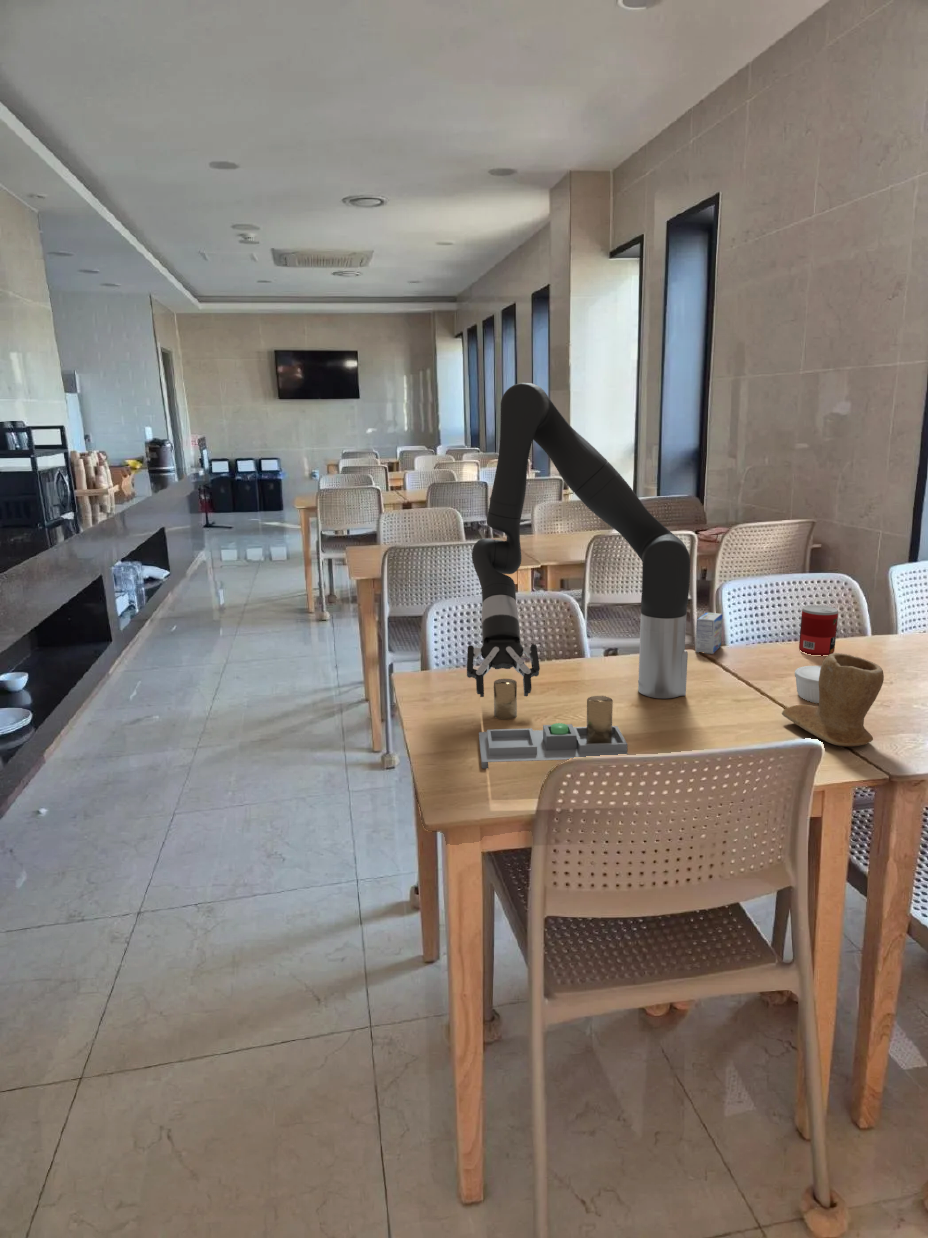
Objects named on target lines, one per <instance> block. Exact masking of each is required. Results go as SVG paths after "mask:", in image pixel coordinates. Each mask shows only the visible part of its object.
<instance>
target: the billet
mask: <svg viewBox="0 0 928 1238" xmlns="http://www.w3.org/2000/svg"><path fill="white" fill-rule="evenodd" d="M517 684H518V683H517V681H516V680H515V679H512V678H499V679H496V680H494V681H493V717H494V718H495V719H498V720H503V721H509V720H512V719H513V720H514V719H516V718H517V716H518V715H517V714H518V710H517V709H518V708H517V707H518V700H517V699H518V696H517V695H518V693H517V692H518V691H517V687H518V685H517Z"/></svg>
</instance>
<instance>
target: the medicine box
mask: <svg viewBox="0 0 928 1238" xmlns="http://www.w3.org/2000/svg"><path fill="white" fill-rule="evenodd" d="M695 623H696V625H695V627H696V628H695V649H694V650H696V651H695V653H699V652H704V653H703V654H706V655H707V654H709V655H713V654H715V653H716V651H718V649H720V647H722V631H723V630H722V629H723V613H720V612H719V613H718V612H717V613H715V612H704V614H702V615H701V616H700V617H698V618H697V619H696V622H695Z"/></svg>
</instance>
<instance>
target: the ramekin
mask: <svg viewBox="0 0 928 1238" xmlns="http://www.w3.org/2000/svg"><path fill="white" fill-rule="evenodd" d="M821 666H822V665H805V666H804V665H803V666H800V667H798V668H796V669H795V671H794V678H795V684H796V685H795V686H796V692H797V694H798V696H799V697H800V698H801V699H802V698H803V700H804V699H805V701H806V700H807V702H809V701H810V703H813V702H814V703H813V704H817V703H819V675H820V669H821Z"/></svg>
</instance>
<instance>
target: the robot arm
mask: <svg viewBox="0 0 928 1238" xmlns="http://www.w3.org/2000/svg"><path fill="white" fill-rule="evenodd" d="M499 424H500V427H499V428H500V429H499V431H500V432H499V448H498V455H497V463H496V468H495V474H494V479H493V483H492V484H493V486H492V490H491V495H490V500H489V506H488V512H487V516H486V518H487V519H486V523H487V525H488V527H490V528H491V529H493V530H495V531H499V532H502V533H503V534H505V536H506V540H500V539H491V538H481V539H479V540H477V541H476V542H475V544H474V545H473V547H472V551H471V560H472V564H473V568H474V570H475V572H476V575H477V578H478V580H479V583H480V588H481V603H482V605H481V607H482V608H481V633H482V635H481V636H482V646H481V647H474V645H472V644H470V645H468V646H467V656H466V677H467V678H469V679H471V678H473V679H475V684H476V685H475V687H476V689H475V691H476V694H477V695H479V696H480V698H484V697H485V682H484V677H485V676H486V674H488V673H489V671H490V670H492V668H493V669H494V670H500V669H505V670H510V669H512V668H513V670H515V671H516V673H519V674H520V675H521V676H522V677H523V679H522V683H523V686H522V687H523V696H524V697H528V696H529V694H531V692H532V689H533V686H532V678H533V677H538V676H539V674H540V670H541V666H540V660H539V654H538V648H537V647H538V646H537V645H536V644H534V643H533V644H531V645H530V646H522V643H521V636H520V635H521V634H520V618H519V609H518V605H517V593H516V592H517V591H516V584H515V581H514V579H513V578H512V577H511V576H509V575H513V574H514V573H516V572H517V571H518V569H520V566H521V565H522V549H521V537H520V535H521V534H520V530H521V520H522V519H521V518H522V514H523V511H524V504H525V499H526V492H527V491H526V489H527V477H528V466H529V465H528V464H529V457H530V452H531V448H532V444H533V441H534V442H535V443H536V444H537V445H538V446H539V447H540V448H541V449H543V451H544V452H545V453H546V454H547V456H548V458H549V459H550V460H551V461H552V464H553V465H554V466H555V469H556V470H557V472H558V474H559V475H560V476H561V478H562V479H563V481H564V482H565V483H566V485H567V486H568V488H569V489H570V490H571V492H573V493H574V495H575V496H576V497H577V498H578V499H579V501H581V502H582V504H584V506H585V507H586V508H588V509H589V510H590V511H591V512H592V513H593V514H594V515H596V516H597V517H598V518H599V519H601V520H602V521H603V522H604V523H606V524H608V526H610V527H611V528H612V529H614V531H616V532H617V533H618V534H620V535H621V536H622V537H623V539H624V540H625V541H626V542H627V543H628V545H630V547H631V548H632V549H633V551H634V553H635V554H636V555H637V556H638V557H639V559H640V560H641V563H642V575H641V577H642V578H641V579H642V580H641V596H640V597H641V599H640V624H639V626H640V628H639V629H640V630H639V652H638V653H639V654H638V655H639V656H638V680H637V683H638V684H637V685H638V686H637V687H638V689H637V690H638V691H637V692H639V693H640V694H641V695H643V696H645V697H648V698H654V699H675V698H678V697H681V696H686V695H687V678H688V677H687V675H688V655H689V653H688V650H687V649H686V636H687V635H686V633H687V631H686V630H687V615H688V614H687V613H688V611H687V610H688V602H689V595H690V594H689V593H690V592H689V591H690V577H691V555H690V552H689V549H688V548H687V546H686V544H685V543H684V542H683V541H682V540H681V538H679V537H678V536H677V535H675V534H674V533H673V532H671V530H669V529H668V528H667V527H665V526H664V525H663V524H662V523H661V522H660V521H659V520H658V519H657V518H656V517H655V516H654V515H653V514H652V513H651V512H650V511H649V510H648V508H646V507H645V506H644V504H643V503H642V501H641V500H640V498H639V497H638V496H637V494H636V493H635V491H634V490H633V489H632V487H631V486H630V484H629V483H627V482H628V481H626V480H625V479H624V477H623V476H622V475H621V474H620V472H619V471H618V470H617V469H616V468H615V467H614V466H613V465H612V464H611V463H610V462H609V461H608V460H607V459H606V457H604V456H603V455H602V454H601V453H600V451H598V450H597V449H596V448H595V447H594V446H593V445H592V444H591V443H590V442H589V441H588V440H587V439H585V438H584V437H583V436H582V435H581V434H580V433H579V432H577V431H576V429H574V428H573V427H572V426H571V424H569V422H568V421H567V420H566V419H565V417H564V416H563V415H562V414H561V412H560V411H559V409H558V408H557V407H556V405H555V404H554V402H553V401H552V400H551V398H550V397H549V396H548V394H547V393H546V391H545V390H544V389H543V388H542V387H541V386H539V385H537V384H535V383H531V382H519V383H516V384H513V385H511V386H510V387H508V389H506V391H505V392H504V393H503V395H502V397H501V401H500V423H499ZM523 654H525V655H526V657H527V658H529V659H530V664H531V668H529V666H528V665H527V664H526V663H525V661H524V660H523V659H522V658H521V657H522V656H523ZM479 655H480V656H481V657H482V658H483V659H484V660H482V663H481V664H480V665H479V667H478V668H477V669H476V668H474V660H476V659H478V657H479Z"/></svg>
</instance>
